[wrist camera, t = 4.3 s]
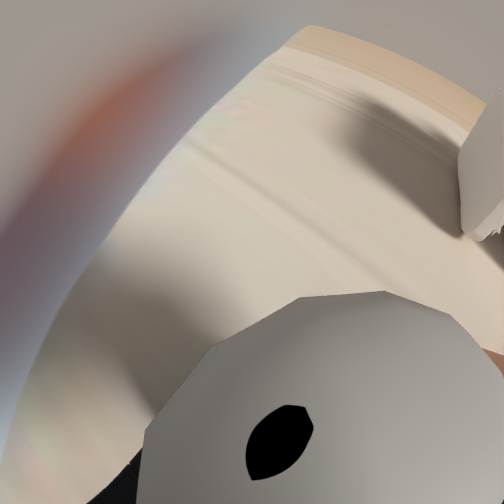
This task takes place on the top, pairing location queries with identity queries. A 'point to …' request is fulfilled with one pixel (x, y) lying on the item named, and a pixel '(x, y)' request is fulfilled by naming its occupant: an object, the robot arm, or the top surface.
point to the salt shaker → (334, 412)
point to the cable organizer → (483, 172)
